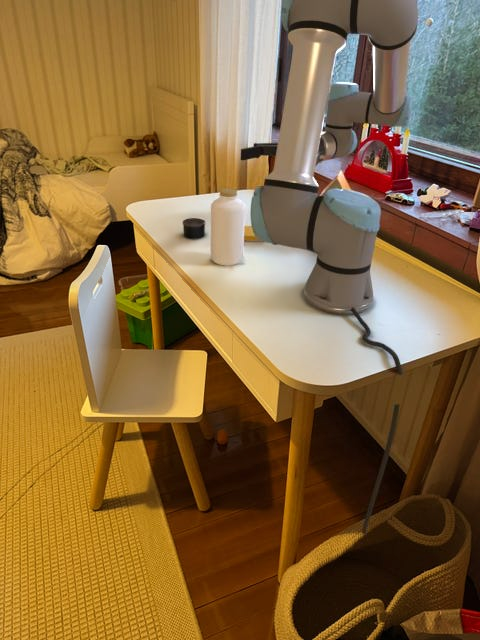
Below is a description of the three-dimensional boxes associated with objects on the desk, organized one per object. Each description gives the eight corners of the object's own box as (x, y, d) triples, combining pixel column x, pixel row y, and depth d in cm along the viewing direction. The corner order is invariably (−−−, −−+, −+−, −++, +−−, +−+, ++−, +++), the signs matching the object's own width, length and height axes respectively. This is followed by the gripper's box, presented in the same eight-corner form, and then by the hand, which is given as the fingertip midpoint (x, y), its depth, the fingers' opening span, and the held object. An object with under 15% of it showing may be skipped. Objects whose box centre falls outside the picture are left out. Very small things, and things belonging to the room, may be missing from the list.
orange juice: (312, 250, 130) (321, 176, 119) (317, 238, 137) (326, 167, 126) (340, 254, 128) (352, 179, 117) (344, 242, 135) (356, 171, 125)
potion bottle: (229, 270, 118) (231, 198, 108) (204, 260, 122) (203, 190, 112) (249, 259, 123) (253, 190, 114) (224, 251, 128) (225, 183, 118)
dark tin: (205, 239, 134) (205, 225, 132) (182, 239, 133) (182, 225, 131) (205, 231, 139) (205, 217, 137) (183, 230, 139) (182, 217, 137)
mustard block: (265, 241, 135) (265, 236, 134) (244, 240, 134) (244, 235, 133) (262, 230, 141) (262, 225, 141) (241, 230, 141) (242, 225, 140)
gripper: (351, 172, 124) (298, 187, 111) (279, 153, 139) (226, 165, 126) (355, 142, 120) (302, 154, 107) (281, 126, 135) (226, 135, 122)
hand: (261, 160), depth 117 cm, fingers open, 13 cm apart
